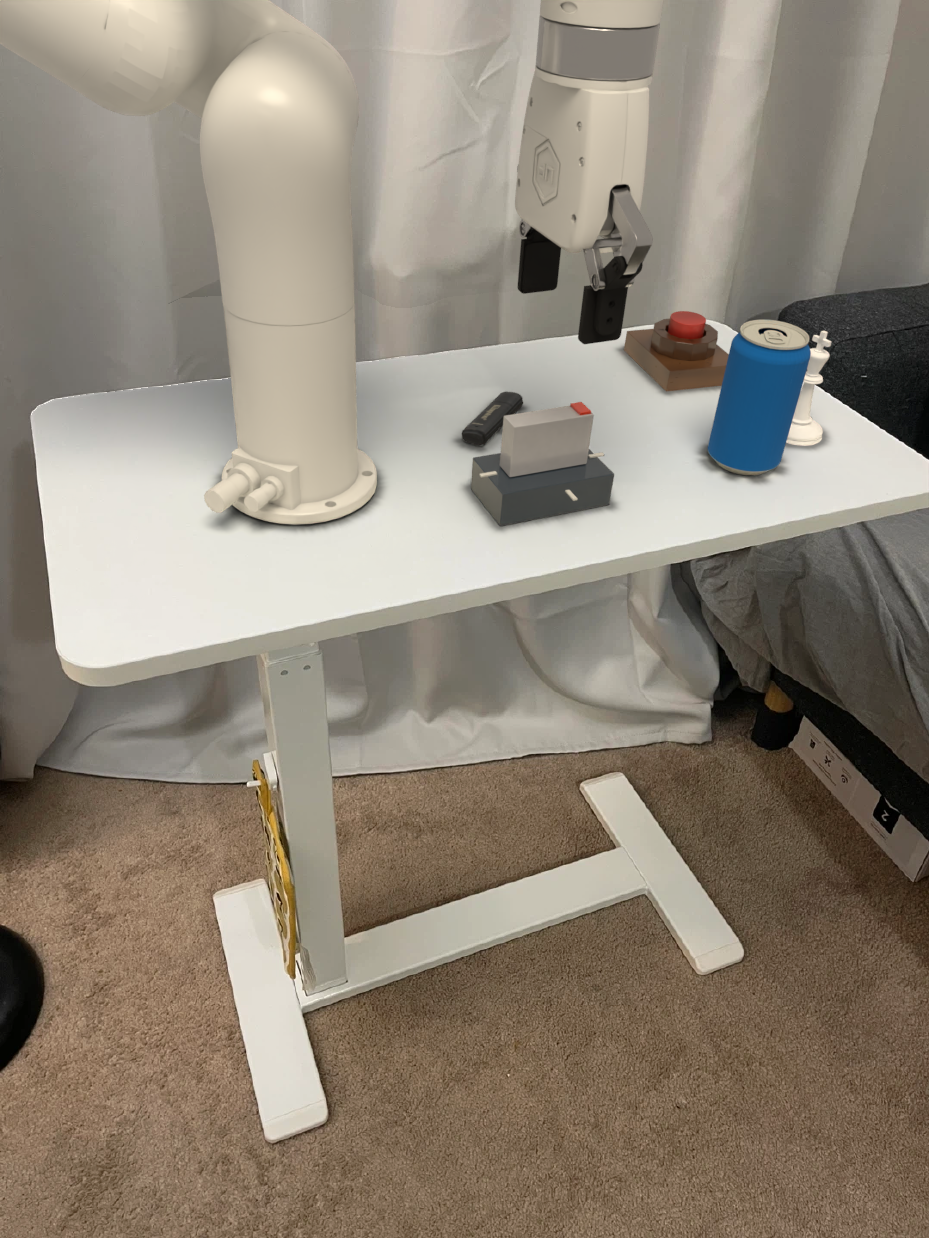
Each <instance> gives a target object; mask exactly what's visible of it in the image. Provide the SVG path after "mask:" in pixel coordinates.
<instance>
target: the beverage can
mask: <svg viewBox="0 0 929 1238" xmlns="http://www.w3.org/2000/svg"><path fill="white" fill-rule="evenodd" d="M809 342H810V335H809V334H808V332H806V331H805V330H804V329H803V328H800V327H799V326H797V325H795V324H792V323H788V322H785V321H780V320H775V319H754V320H748V321H746V322H744V323H743V324H741V326H740V328H739V332H738V333H737V334H736V335H734V336H733V338H732V340H731V343H730V347H729V351H728V354H729V356H728V360H727V365H726V369H725V373H724V378H723V382H722V386H720V391H719V396H718V399H717V405H716V409H715V413H714V418H713V421H712V427H711V431H710V435H709V439H708V445H707V453H708V454H709V456H710V457H711V458H712V459H713V461H715V463H716V464H717V465H718V466H719V467H720V468H722V469H723V470H726V471H728V472H731V473H732V474H737V475H741V476H742V475H743V476H758V475H762V474H765V473H767V472H768V471H772V470H774V469H776V468H777V467H779V465H780V464H781V462H782V458H783V455H784V451H785V447H786V444H787V443H786V441H787V438H788V434H789V430H790V427H791V423H792V420H793V416H794V413H795V409H796V406H797V402H798V399H799V395H800V392H801V389H802V387H803V384H804V382H803V381H804V377H805V374H806V371H807V367H808V363H809V360H810V356H811V351H810V349H811V347H810V346H809Z"/></svg>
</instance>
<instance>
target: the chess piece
mask: <svg viewBox="0 0 929 1238" xmlns="http://www.w3.org/2000/svg"><path fill="white" fill-rule="evenodd" d="M828 334H829V332H828V331H826V330H821V331H820V333H819V335H818V334H814V335H813V336H812V339H811V341H812V342H814V343H817V344H816V347H812V348H811V347H810V351H811V356H810V360H809V363H808V367H807V370H806V374H805V377H804V381H803V384H802V388H801V392H800V395H799V399H798V402H797V406H796V409H795V413H794V416H793V420H792V423H791V427H790V430H789V434H788V438H787V441H786V444H789V445H793V446H801V447H807V446H809V447H810V446H813V445H817V444H818V443H820V442H821V441H822V440H823V433H824V429H823V427H822V426H821V424H819V422H817V421H815V420H814V419H813V417H812V416H811V410H812V409H811V408H812V403H813V397H814V391H815V387H816V385H820V384H822V383H823V382H824V379H823V378H824V377H823V376H822V375H821V374H820V372H821V370H822V369H823V367H824V366H825V364H826V363H827V362H828V361H829V359H830V356H831V354H830V352H828V351H827V350H826V349H824V347H826V348H830V347H831V346H832V343H833V341H831V340H829V339H827V337H828Z"/></svg>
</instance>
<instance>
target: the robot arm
mask: <svg viewBox="0 0 929 1238" xmlns="http://www.w3.org/2000/svg"><path fill="white" fill-rule="evenodd" d="M664 1H665V0H540V4H539V5H540V6H539V17H538V18H539V20H538V29H537V30H538V32H537V44H536V57H535V68H534V72H533V76H532V80H531V83H530V88H529V93H528V96H527V101H526V109H525V115H524V120H523V127H522V133H521V140H520V149H519V157H518V164H517V167H516V168H517V169H516V173H517V174H516V185H515V197H514V208H515V210H516V213H517V214H518V216H519V217H520V218H521V220H520V222H519V225H518V232H519V235H520V237H521V240H520V248H519V249H520V251H519V261H518V262H519V263H518V265H519V266H518V275H517V276H518V277H517V290H518V292H520V293H521V294H523V295H525V294H526V295H527V294H533V293H542V292H550V291H555V290H556V289H557V287H558V281H559V274H560V263H561V254H562V250H564V251H565V252H567V253H569V254H579V253H581V252H582V251H583V256H584V260H585V266H586V269H587V273H588V274H587V275H588V279H589V283H590V285H584V286H583V293H582V299H581V300H582V301H581V309H580V317H579V324H578V325H579V326H578V331H577V332H578V333H577V340H578V341H579V342H580V343H581V344H582V345H590V344H598V343H604V342H611V341H617V340H619V338H620V337H621V336H622V330H623V326H624V325H623V324H624V318H625V311H626V306H627V305H626V304H627V297H628V291H629V288H631V287H633V285H634V283H635V278H636V277H637V276H638V275H639V274H640V273H641V271H642V270H643V267H644V265H643V263H644V261H645V259H646V257H647V255H648V253H649V252H650V250H651V247H652V246H653V242H654V241H653V239H654V238H653V234H652V232H651V230H650V228H649V226H648V224H647V223H646V221H645V219H644V217H643V214H642V213H641V209H642V203H643V195H644V189H645V188H644V187H645V179H646V169H647V157H648V145H649V144H648V143H649V127H650V126H649V124H650V88H649V86H651V85H652V83H653V78H654V77H653V76H654V71H655V62H656V56H657V48H658V43H659V41H658V40H659V37H660V36H659V35H660V29H661V20H662V14H663V9H664V7H663V6H664ZM0 46H2V47H4V48H5V49H7V50H9V51H10V52H12V53H13V54H15V55H16V56H18V57H20V58H21V59H23V60H25V61H26V62H28V63H30V64H31V65H33V66H35V67H37V68H38V69H40V70H42V71H43V72H45V73H46V74H48V75H49V76H52V77H53V78H55V79H56V80H58V81H59V82H61V83H63V84H64V85H66V86H67V87H69V88H70V89H72V90H73V91H76V92H77V93H78V94H80V95H81V96H83V97H85V98H86V99H88V100H89V101H91V102H93V103H95V104H96V105H98V106H100V107H101V108H103V109H106V110H108V111H110V112H113V113H116V114H119V115H122V116H126V117H145V116H151V115H153V114H156V113H158V112H161V111H163V110H164V109H165V108H168V107H169V106H170V105H172V104H173V103H174V104H176V105H178V106H179V107H181V108H182V109H183V110H185V111H188V112H189V113H191V114H192V115H193V116H196V117H197V118H199V119H201V122H200V130H199V159H200V167H201V174H202V179H203V185H204V189H205V195H206V199H207V200H206V201H207V204H208V209H209V215H210V218H211V224H212V230H213V235H214V236H213V237H214V241H215V249H216V250H215V251H216V257H217V264H218V275H219V282H220V283H219V284H220V291H221V302H222V306H223V307H222V308H223V318H224V326H225V335H226V337H225V338H226V344H227V345H226V346H227V355H228V364H229V374H230V384H231V385H230V386H231V394H232V403H233V405H232V406H233V413H234V423H235V432H236V440H237V441H236V442H237V443H236V444H237V448H235V449H234V450H233V451H232V452H231V457H230V458H229V460H228V461H227V462H226V463H225V465H224V467H223V469H222V472H221V480H220V481H219V482H217V483H216V484H214V485H213V486H211V487H210V488H209V489H208V490H206V491H205V492H204V494H203V497H204V498H203V499H204V503H205V504H206V506H207V507H208V508H209V510H211V511H212V512H214V513H216V514H222V513H223V512H224V511H226V510H228V508H230V507H232V506H233V507H234V508H235V509H237V510H238V511H239V512H241V513H244V514H245V515H247V516H249V517H252V518H254V519H258V520H261V521H264V522H269V523H274V524H281V525H311V524H312V525H313V524H319V523H325V522H329V521H333V520H336V519H340V518H343V517H344V516H348V515H349V514H352V513H354V512H355V511H357V510H359V509H361V508H362V507H363V506H364V505H366V503H367V502H369V501H370V500H371V498H372V497H373V495H374V494H375V493H376V489H377V486H378V481H377V480H378V471H377V467H376V464H375V462H374V461H373V460H372V458H371V457H370V456H369V455H368V454H367V453H366V452H365V451H363V450H361V449H360V448H358V409H357V407H358V403H357V402H358V401H357V397H358V396H357V354H356V353H357V346H356V345H357V343H356V340H357V339H356V338H357V337H356V304H355V303H356V302H355V267H354V266H355V265H354V239H353V238H354V237H353V235H354V234H353V217H352V216H353V215H352V164H353V163H352V161H353V149H354V144H355V142H356V141H355V140H356V134H357V129H358V125H359V118H360V101H359V100H360V99H359V92H358V87H357V83H356V81H355V78H354V75H353V73H352V71H351V69H350V67H349V65H348V63H347V61H345V59H344V58H343V56H342V55H341V54H340V52H339V51H338V50H337V49H336V48H335V47H334V46H333V45H332V44H331V43H330V42H329V41H327V39H325V38H324V37H323V36H322V35H321V34H319V33H318V32H316V31H315V30H314V29H312V28H311V27H310V26H308V25H307V24H305V23H303V22H302V21H300V20H299V19H297V18H296V17H294V16H293V15H292V14H290V13H288V12H287V11H286V10H284V9H283V8H281V7H280V6H278V5H277V4H275V2H272V1H271V0H0ZM598 237H601V238H598ZM607 253H609V254H610V253H612V255H613V257H612V259H611V260H610V261H609V262H608V263H607V264H606V265H605V266H604V264H603V258H602V254H607Z"/></svg>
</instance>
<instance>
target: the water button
mask: <svg viewBox="0 0 929 1238" xmlns="http://www.w3.org/2000/svg"><path fill="white" fill-rule="evenodd" d="M669 319H670V321H669V326H668V333H669V334H670V335H673V336H676V337H678V338H684V339H699V338H702V337H703V333H704V328H705V324H707V318H706V317H705V316H704V315H702V314H700V313H697V312H694V311H688V310H679V311H674V312H672V313H670V316H669Z"/></svg>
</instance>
